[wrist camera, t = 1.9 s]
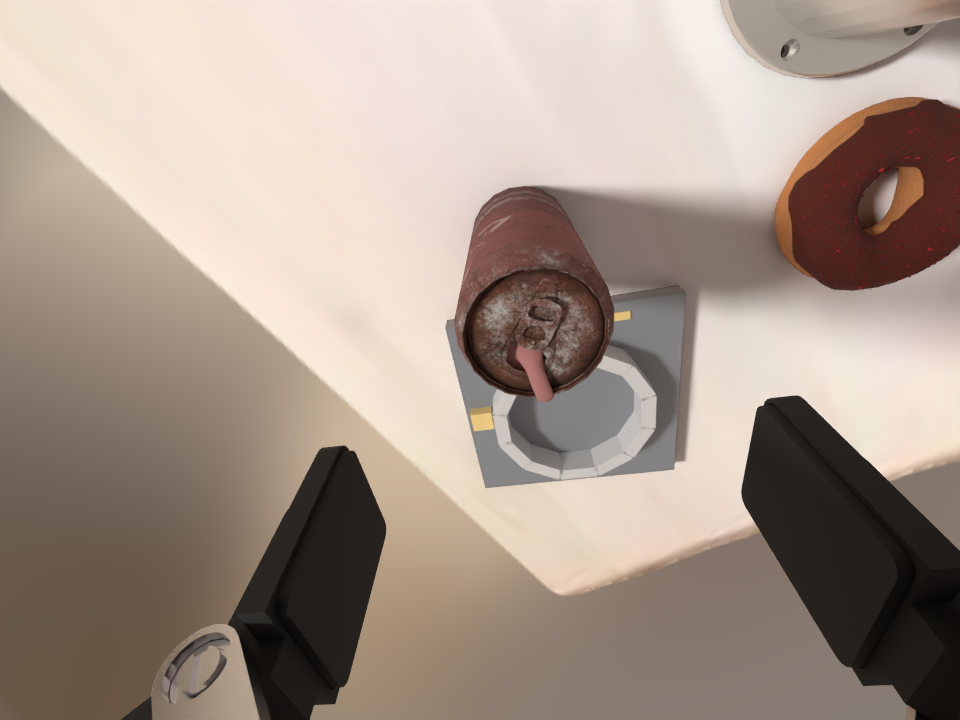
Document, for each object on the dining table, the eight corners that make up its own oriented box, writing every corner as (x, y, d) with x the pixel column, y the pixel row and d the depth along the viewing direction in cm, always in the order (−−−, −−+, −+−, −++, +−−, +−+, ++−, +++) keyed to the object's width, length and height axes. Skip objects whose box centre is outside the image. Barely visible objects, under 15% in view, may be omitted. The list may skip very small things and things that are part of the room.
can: (495, 296, 30) (492, 428, 18) (457, 209, 27) (423, 297, 15) (581, 264, 29) (639, 384, 17) (550, 168, 26) (594, 229, 14)
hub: (678, 285, 29) (697, 305, 26) (669, 459, 37) (682, 488, 34) (447, 320, 31) (442, 341, 28) (485, 477, 39) (484, 506, 36)
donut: (778, 120, 24) (823, 123, 21) (979, 77, 23) (1063, 73, 19) (756, 287, 29) (790, 312, 26) (919, 260, 28) (978, 283, 24)
